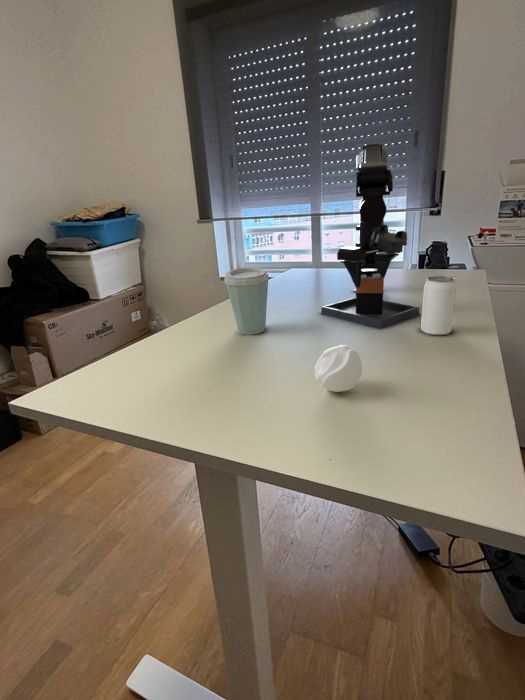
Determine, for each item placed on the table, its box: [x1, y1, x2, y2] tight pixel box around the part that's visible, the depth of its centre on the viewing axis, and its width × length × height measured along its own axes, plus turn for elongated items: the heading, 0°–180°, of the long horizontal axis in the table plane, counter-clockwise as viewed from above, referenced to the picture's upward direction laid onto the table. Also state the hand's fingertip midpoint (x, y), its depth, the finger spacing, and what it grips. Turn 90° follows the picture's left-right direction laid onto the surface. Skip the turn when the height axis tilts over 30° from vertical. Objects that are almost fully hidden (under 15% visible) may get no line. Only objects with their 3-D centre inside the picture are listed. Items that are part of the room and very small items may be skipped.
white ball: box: [313, 344, 363, 393], centre depth 67 cm, size 8×8×8 cm
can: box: [420, 275, 457, 336], centre depth 90 cm, size 6×6×12 cm
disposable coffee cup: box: [223, 266, 270, 335], centre depth 98 cm, size 11×11×15 cm
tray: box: [320, 296, 420, 330], centre depth 108 cm, size 20×16×2 cm
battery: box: [355, 274, 385, 314], centre depth 106 cm, size 4×7×10 cm, turn 74°
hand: (369, 284), depth 105 cm, fingers open, 9 cm apart
